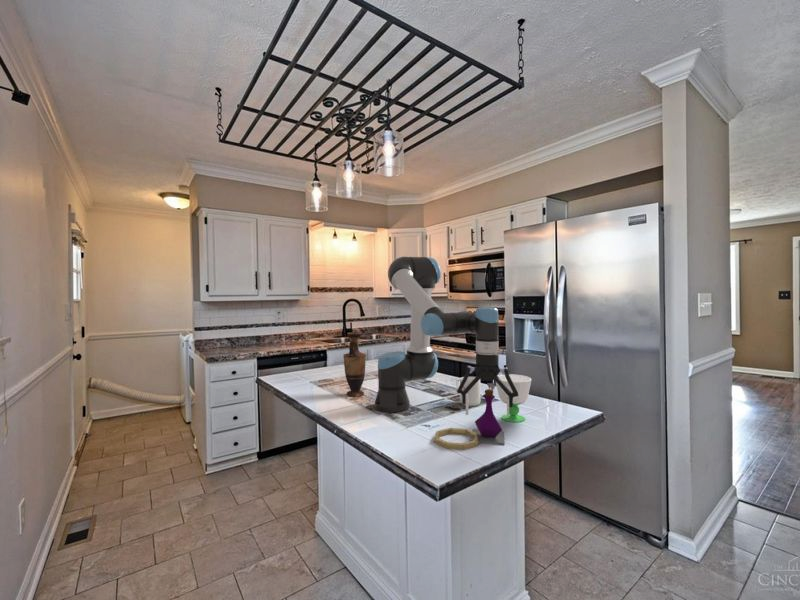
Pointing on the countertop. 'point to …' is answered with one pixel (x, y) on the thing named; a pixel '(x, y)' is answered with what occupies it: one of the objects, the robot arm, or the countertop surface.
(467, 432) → the wooden octagonal frame
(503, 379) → the cup
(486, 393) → the perfume bottle
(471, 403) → the mug
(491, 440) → the slate coaster
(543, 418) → the countertop surface
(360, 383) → the vase
